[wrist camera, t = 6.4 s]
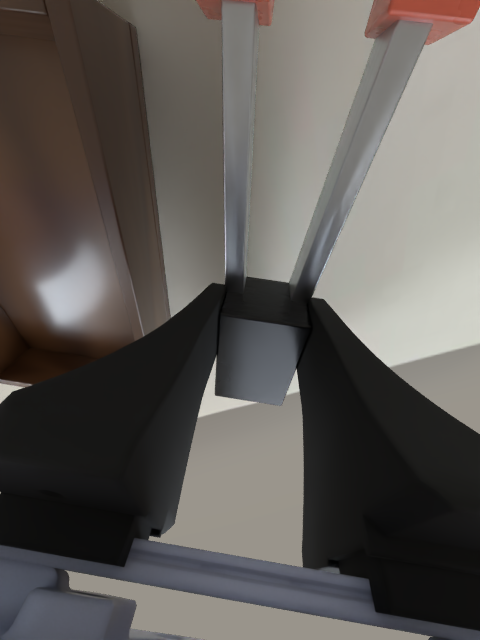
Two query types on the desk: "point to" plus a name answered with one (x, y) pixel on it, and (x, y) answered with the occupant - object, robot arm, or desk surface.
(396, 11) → the tongs
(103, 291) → the tray
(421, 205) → the desk surface
